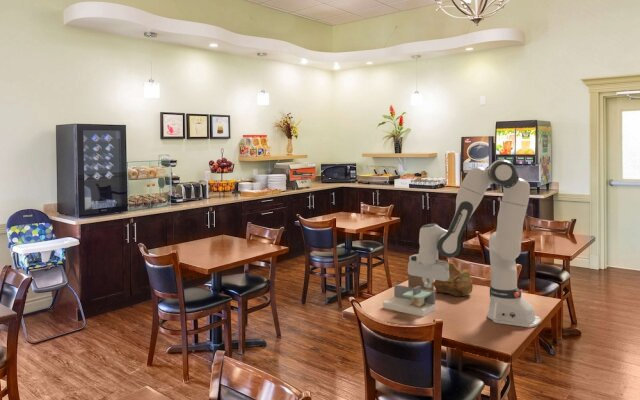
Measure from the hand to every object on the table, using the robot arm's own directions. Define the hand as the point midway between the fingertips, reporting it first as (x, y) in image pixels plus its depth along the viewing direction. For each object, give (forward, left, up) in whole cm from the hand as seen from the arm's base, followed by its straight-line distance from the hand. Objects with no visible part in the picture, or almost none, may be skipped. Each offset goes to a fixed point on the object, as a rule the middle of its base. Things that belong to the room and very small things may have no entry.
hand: (427, 287), depth 232 cm
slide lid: (+5, 0, -5) cm, 7 cm away
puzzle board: (+10, 0, -13) cm, 16 cm away
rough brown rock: (+6, -36, -13) cm, 39 cm away
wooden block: (+13, -18, -13) cm, 26 cm away
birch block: (+5, 0, -13) cm, 14 cm away
